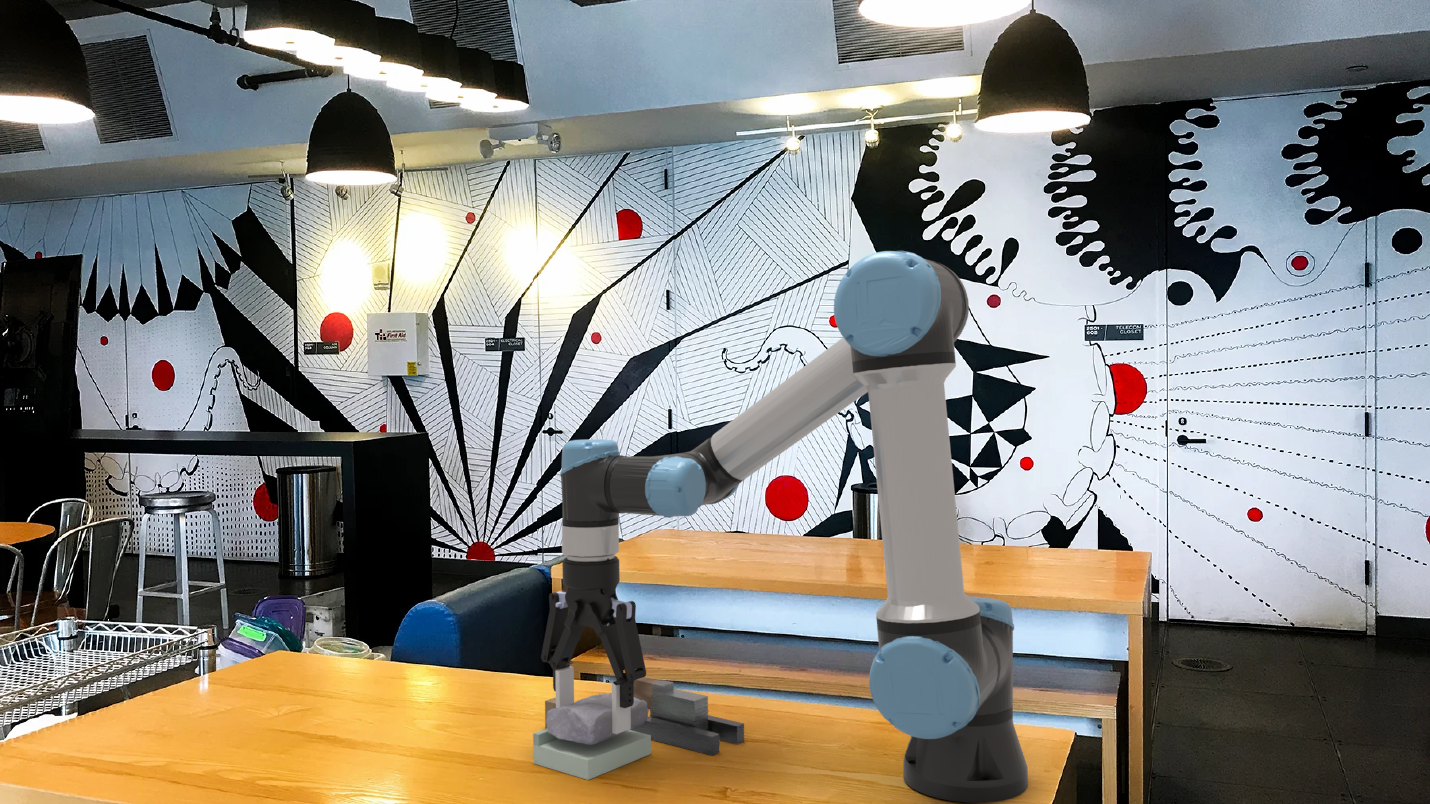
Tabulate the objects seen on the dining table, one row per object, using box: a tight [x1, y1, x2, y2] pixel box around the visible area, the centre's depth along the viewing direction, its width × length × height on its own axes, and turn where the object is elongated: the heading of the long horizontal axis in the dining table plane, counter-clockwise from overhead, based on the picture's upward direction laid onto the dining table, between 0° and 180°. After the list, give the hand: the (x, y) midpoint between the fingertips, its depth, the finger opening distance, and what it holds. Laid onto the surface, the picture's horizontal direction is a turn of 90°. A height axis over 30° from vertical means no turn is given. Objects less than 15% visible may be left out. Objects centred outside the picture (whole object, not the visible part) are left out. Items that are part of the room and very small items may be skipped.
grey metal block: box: [651, 679, 709, 731], centre depth 155 cm, size 8×3×7 cm, turn 52°
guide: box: [630, 706, 745, 756], centre depth 155 cm, size 16×7×2 cm, turn 52°
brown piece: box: [544, 676, 661, 729], centre depth 164 cm, size 9×18×4 cm, turn 142°
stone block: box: [546, 692, 649, 745], centre depth 146 cm, size 12×5×10 cm
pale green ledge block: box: [532, 728, 652, 781], centre depth 146 cm, size 10×12×4 cm
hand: (592, 723), depth 146 cm, fingers closed on stone block, 10 cm apart
